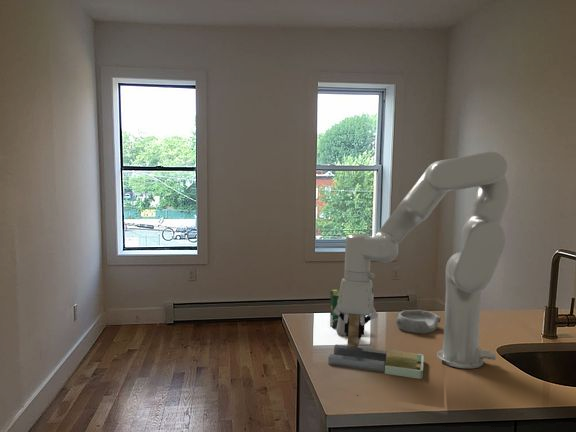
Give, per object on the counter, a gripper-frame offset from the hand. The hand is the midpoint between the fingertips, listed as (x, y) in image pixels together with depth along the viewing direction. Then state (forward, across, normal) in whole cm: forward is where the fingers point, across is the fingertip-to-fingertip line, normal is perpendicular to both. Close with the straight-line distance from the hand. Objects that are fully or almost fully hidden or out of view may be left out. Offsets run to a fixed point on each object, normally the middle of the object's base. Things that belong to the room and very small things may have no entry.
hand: (354, 335), depth 141 cm
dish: (+5, -17, -30) cm, 35 cm away
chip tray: (+5, -16, +9) cm, 19 cm away
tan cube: (+4, -13, +9) cm, 16 cm away
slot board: (+5, -3, +9) cm, 11 cm away
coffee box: (+5, +8, -22) cm, 24 cm away
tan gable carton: (+3, 0, 0) cm, 3 cm away
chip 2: (+4, -17, +9) cm, 19 cm away
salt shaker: (+5, +5, -12) cm, 14 cm away
